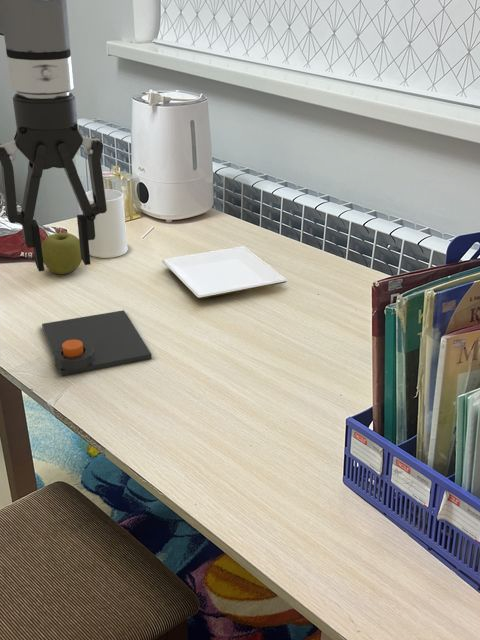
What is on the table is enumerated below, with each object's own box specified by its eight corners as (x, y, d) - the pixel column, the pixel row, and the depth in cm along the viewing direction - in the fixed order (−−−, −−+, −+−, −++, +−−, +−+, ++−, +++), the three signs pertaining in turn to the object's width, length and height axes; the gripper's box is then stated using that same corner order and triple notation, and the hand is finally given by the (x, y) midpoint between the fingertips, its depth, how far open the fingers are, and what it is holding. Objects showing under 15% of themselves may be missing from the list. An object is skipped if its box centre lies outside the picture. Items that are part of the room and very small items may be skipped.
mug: (90, 237, 152) (85, 183, 146) (129, 237, 153) (126, 183, 147) (84, 258, 142) (79, 201, 136) (127, 258, 143) (123, 201, 137)
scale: (39, 328, 116) (37, 315, 114) (124, 314, 121) (123, 301, 120) (59, 378, 103) (57, 364, 102) (152, 360, 109) (151, 346, 107)
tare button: (61, 350, 106) (60, 341, 105) (81, 346, 107) (80, 337, 106) (65, 359, 104) (64, 350, 103) (85, 355, 105) (84, 347, 104)
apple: (88, 275, 135) (85, 241, 131) (46, 281, 132) (41, 246, 128) (80, 261, 140) (77, 227, 137) (40, 266, 137) (35, 232, 134)
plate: (161, 268, 139) (160, 258, 138) (244, 254, 147) (244, 245, 146) (198, 306, 125) (198, 296, 124) (287, 289, 133) (288, 279, 132)
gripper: (-34, 102, 80) (-3, 284, 91) (125, 95, 87) (135, 265, 99) (-40, 90, 86) (-10, 263, 97) (110, 84, 93) (121, 246, 104)
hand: (63, 264), depth 98 cm, fingers open, 6 cm apart
